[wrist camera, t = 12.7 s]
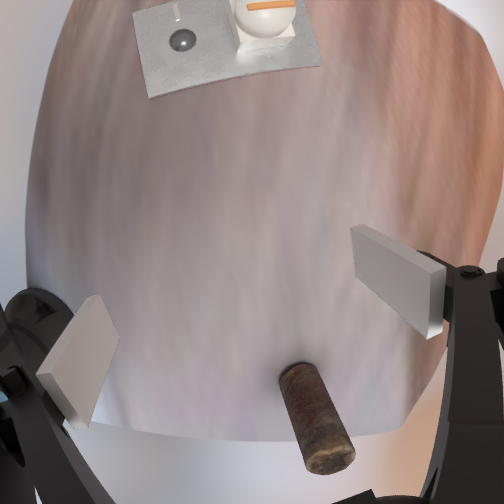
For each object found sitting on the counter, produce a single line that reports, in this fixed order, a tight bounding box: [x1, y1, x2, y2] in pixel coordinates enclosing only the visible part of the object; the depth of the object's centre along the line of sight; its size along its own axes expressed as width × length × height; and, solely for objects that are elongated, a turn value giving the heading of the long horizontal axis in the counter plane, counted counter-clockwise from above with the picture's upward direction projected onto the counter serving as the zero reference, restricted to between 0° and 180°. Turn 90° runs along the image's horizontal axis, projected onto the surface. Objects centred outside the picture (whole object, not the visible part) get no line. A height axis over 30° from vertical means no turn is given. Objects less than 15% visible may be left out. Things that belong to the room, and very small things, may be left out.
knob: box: [226, 0, 296, 52], centre depth 31 cm, size 7×7×8 cm
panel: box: [132, 0, 323, 99], centre depth 34 cm, size 24×14×4 cm, turn 103°
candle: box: [280, 364, 356, 475], centre depth 44 cm, size 8×7×20 cm
